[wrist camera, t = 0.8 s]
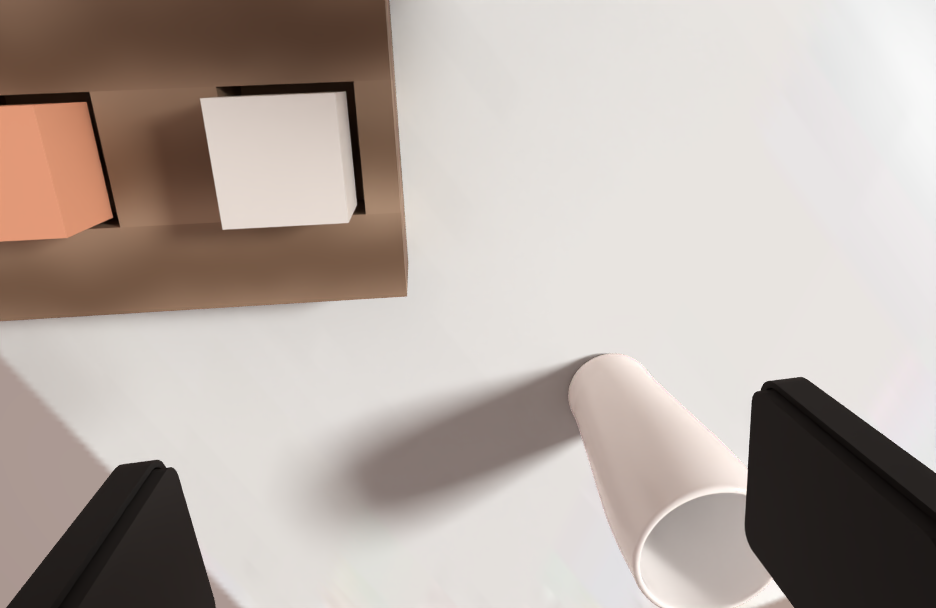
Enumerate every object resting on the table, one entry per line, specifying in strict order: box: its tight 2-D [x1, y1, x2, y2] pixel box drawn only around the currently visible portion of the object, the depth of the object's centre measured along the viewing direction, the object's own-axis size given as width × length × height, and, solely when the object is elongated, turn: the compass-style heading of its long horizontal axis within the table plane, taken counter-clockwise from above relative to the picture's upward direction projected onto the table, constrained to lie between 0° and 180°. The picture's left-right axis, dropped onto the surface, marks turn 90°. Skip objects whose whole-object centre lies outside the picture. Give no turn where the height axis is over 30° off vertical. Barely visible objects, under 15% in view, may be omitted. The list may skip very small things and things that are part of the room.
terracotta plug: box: [0, 102, 113, 242], centre depth 26 cm, size 5×5×4 cm
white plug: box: [200, 91, 357, 230], centre depth 26 cm, size 5×5×4 cm
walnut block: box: [0, 0, 408, 321], centre depth 30 cm, size 14×20×6 cm
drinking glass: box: [568, 353, 773, 608], centre depth 33 cm, size 7×7×15 cm
